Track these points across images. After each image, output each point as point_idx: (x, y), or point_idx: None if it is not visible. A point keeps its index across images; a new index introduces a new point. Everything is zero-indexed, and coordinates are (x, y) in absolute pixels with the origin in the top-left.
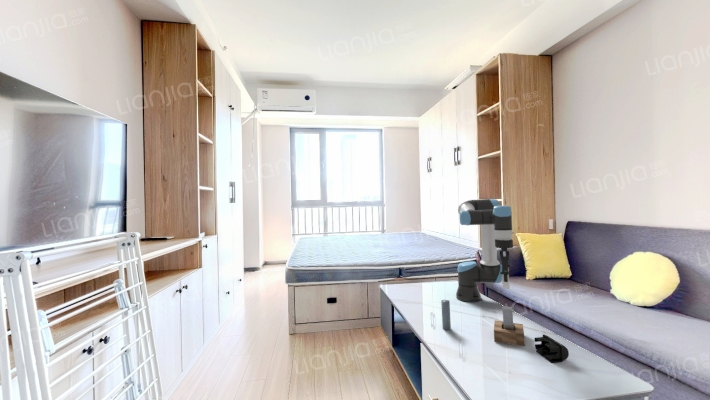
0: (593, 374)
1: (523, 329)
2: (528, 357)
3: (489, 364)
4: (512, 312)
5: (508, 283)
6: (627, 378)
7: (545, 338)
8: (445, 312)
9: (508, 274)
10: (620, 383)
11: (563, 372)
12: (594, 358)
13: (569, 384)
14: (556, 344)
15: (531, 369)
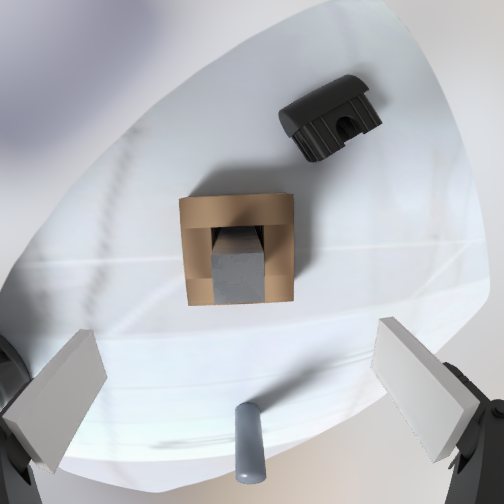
0: (371, 53)
1: (237, 195)
2: (355, 186)
3: (417, 282)
4: (262, 249)
5: (418, 350)
6: (352, 2)
7: (319, 123)
8: (263, 449)
9: (479, 405)
10: (380, 22)
11: (395, 113)
12: (281, 25)
13: (433, 118)
14: (354, 98)
15: (411, 186)
